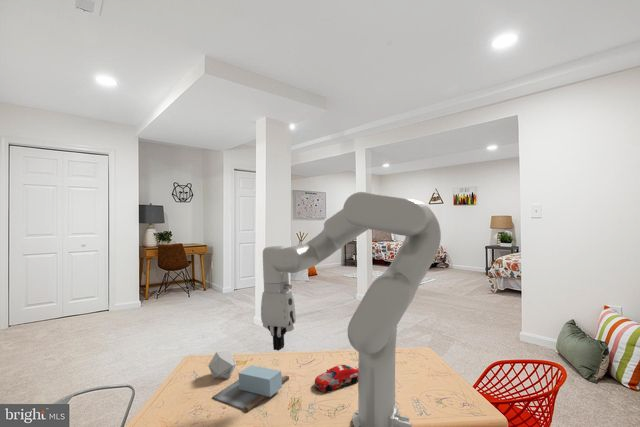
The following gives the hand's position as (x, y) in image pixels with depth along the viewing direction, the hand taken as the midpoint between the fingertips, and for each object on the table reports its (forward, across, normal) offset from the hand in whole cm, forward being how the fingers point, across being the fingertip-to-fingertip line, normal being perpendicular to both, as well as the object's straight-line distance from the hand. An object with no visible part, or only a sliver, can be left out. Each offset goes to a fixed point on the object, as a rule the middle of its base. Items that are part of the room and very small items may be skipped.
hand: (278, 348), depth 97 cm
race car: (+16, -11, -16) cm, 25 cm away
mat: (+14, +11, 0) cm, 18 cm away
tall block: (+11, +2, 0) cm, 11 cm away
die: (+14, +25, -1) cm, 28 cm away
